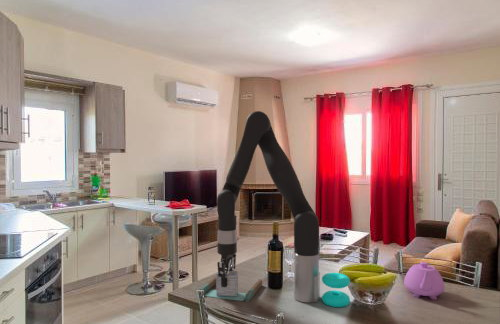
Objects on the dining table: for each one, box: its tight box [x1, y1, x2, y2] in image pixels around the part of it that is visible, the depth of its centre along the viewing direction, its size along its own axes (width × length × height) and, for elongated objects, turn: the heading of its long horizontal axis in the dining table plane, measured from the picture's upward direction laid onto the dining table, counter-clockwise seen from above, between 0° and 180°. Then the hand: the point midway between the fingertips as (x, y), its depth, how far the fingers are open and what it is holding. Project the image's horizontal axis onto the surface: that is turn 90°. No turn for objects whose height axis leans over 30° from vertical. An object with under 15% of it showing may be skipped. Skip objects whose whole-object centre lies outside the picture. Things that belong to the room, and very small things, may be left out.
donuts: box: [321, 272, 351, 308], centre depth 134 cm, size 10×10×10 cm
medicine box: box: [215, 270, 239, 296], centre depth 142 cm, size 8×4×9 cm, turn 82°
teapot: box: [403, 261, 445, 301], centre depth 141 cm, size 20×14×12 cm
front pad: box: [203, 288, 247, 302], centre depth 142 cm, size 16×7×1 cm, turn 72°
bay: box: [198, 275, 263, 303], centre depth 147 cm, size 20×18×2 cm
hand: (227, 283), depth 142 cm, fingers open, 5 cm apart
